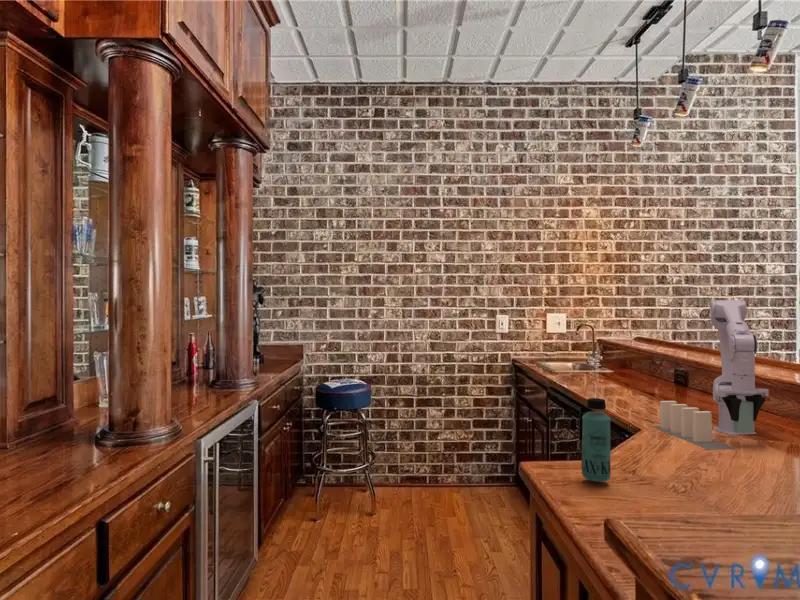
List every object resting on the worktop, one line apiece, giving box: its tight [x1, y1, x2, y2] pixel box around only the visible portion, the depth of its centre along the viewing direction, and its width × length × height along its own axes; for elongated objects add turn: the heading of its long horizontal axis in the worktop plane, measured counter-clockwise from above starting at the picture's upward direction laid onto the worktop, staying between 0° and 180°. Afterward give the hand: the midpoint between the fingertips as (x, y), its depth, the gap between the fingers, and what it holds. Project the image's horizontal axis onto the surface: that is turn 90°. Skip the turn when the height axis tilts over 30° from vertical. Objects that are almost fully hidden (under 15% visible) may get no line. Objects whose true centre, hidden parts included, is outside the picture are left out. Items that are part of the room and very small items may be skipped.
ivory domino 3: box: [681, 406, 700, 437], centre depth 157 cm, size 5×2×9 cm, turn 95°
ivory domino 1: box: [659, 400, 678, 429], centre depth 168 cm, size 5×2×9 cm, turn 95°
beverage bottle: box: [580, 397, 612, 482], centre depth 117 cm, size 6×7×20 cm
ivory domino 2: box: [670, 403, 689, 433], centre depth 162 cm, size 5×2×9 cm, turn 95°
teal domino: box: [734, 401, 755, 433], centre depth 147 cm, size 5×2×9 cm, turn 95°
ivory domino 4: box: [693, 410, 713, 442], centre depth 151 cm, size 5×2×9 cm, turn 95°
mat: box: [650, 425, 737, 451], centre depth 157 cm, size 9×28×1 cm, turn 5°
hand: (743, 420), depth 147 cm, fingers closed on teal domino, 5 cm apart
